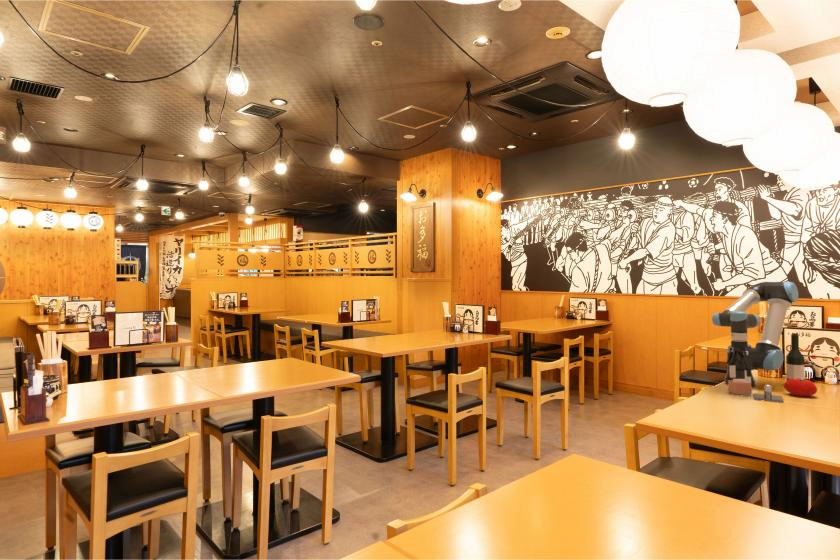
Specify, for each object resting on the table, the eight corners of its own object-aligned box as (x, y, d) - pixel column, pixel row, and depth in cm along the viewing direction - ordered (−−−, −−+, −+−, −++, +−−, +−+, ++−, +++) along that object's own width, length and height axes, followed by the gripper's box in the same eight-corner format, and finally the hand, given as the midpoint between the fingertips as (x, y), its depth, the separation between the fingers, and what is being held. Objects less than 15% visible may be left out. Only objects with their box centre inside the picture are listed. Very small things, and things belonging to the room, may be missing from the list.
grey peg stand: (753, 395, 260) (753, 381, 260) (781, 397, 253) (781, 384, 253) (754, 399, 249) (754, 386, 249) (783, 402, 243) (783, 388, 243)
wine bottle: (808, 387, 278) (807, 334, 278) (793, 387, 278) (792, 334, 278) (797, 384, 286) (796, 332, 286) (782, 384, 286) (782, 332, 286)
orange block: (742, 390, 267) (742, 377, 267) (751, 394, 260) (751, 380, 260) (728, 390, 268) (728, 377, 268) (736, 393, 260) (736, 380, 260)
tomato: (819, 395, 258) (819, 378, 258) (815, 399, 249) (815, 382, 249) (787, 391, 268) (787, 375, 268) (782, 395, 259) (782, 378, 259)
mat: (728, 390, 270) (728, 389, 270) (750, 392, 265) (750, 391, 265) (728, 394, 262) (728, 393, 262) (751, 396, 257) (751, 395, 257)
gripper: (718, 337, 276) (719, 375, 277) (746, 343, 252) (747, 385, 252) (732, 337, 276) (733, 375, 276) (761, 343, 251) (762, 384, 251)
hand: (740, 380), depth 264 cm, fingers open, 13 cm apart
